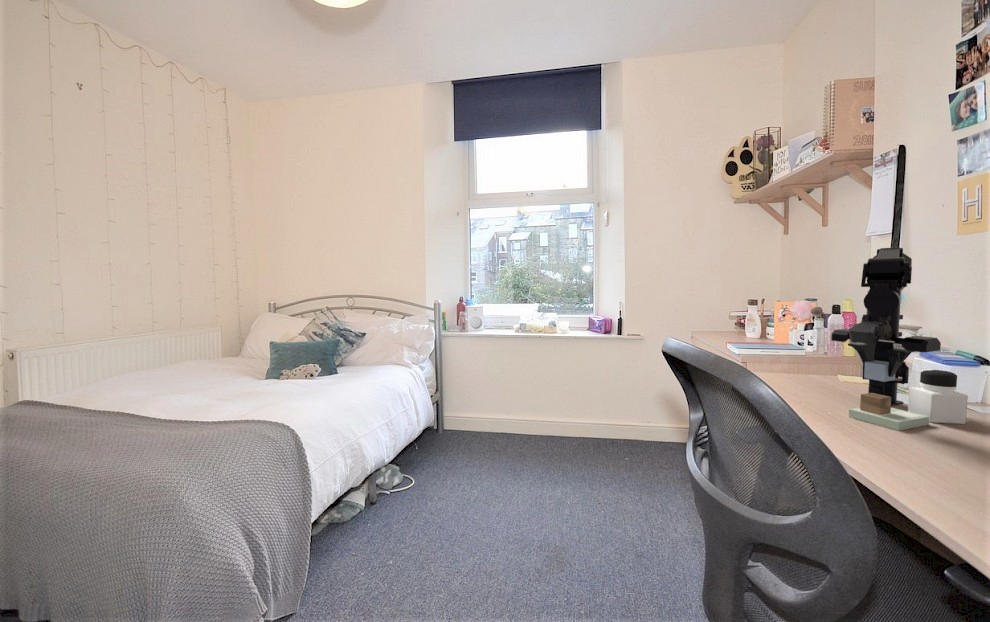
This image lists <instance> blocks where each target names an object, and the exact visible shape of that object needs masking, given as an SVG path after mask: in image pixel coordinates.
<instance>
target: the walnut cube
mask: <svg viewBox="0 0 990 622" xmlns="http://www.w3.org/2000/svg"><path fill="white" fill-rule="evenodd" d="M859 406H860V410H862V411H866V412H870V413H873V414H877V415H883V414H888V413H890V411H891V408H892V406H891V397H889V396H884V395H880V394H875V393H862V394H860V405H859Z"/></svg>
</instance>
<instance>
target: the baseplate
mask: <svg viewBox="0 0 990 622" xmlns="http://www.w3.org/2000/svg"><path fill="white" fill-rule="evenodd" d="M848 417H849V418H852V419H854V420H857V421H858V420H859V421H863V422H865V423H869V424H872V425H876V426H880V427H884V428H888V429H891V430H895V431H898V432H899V431H904V430H909V429H914V428H920V427H924V426H929V423H930V422H929V416H925V415H920V414H916V413H912V412H908V410H907V411H906V410H903V409H899V408H894V407H891V411H890V413H888V414H883V415H877V414H873V413H870V412H866V411H862V410H860V407H853V408H849V409H848Z"/></svg>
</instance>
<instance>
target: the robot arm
mask: <svg viewBox="0 0 990 622" xmlns="http://www.w3.org/2000/svg"><path fill="white" fill-rule="evenodd" d="M912 261H913V260H912V257H910V256H909V255H907V254H906V253H904V248H903V247H897V246H896V247H881V248H878V249H877V250H876V255H875V256H873V257H870V258H868V259H867V261H866V262H865V263H863V266H862V275H861V284H860V287H861V288H869V290H868V291H867V294H865V297H864V298H863V305H864V307H865V309H866V314H863V315H862V318H861V321H860V322H859V323H856V324H854V325H853V326H852V327H850V328H840V329H839V328H838V329H834V330H833V331H832V333H831V336H830V340H831V342H832V341H834V342H841V343H845V342H846V341H848V340H849V343H847V346H848V347H852V348H853V349H854V350H855V351H856V352H857V354H858V355H859V357H860V360H861V362H862V380H868V393H875V394H880V395H884V396H889V397H891V407H892V406H897V405H903V404H904V401H902V400H897V399H898V386H899V385H898V384H901V385H906V384H909V376H910V375H909V374H910V372H909V371H910V367H909V366H908V365H907V364H906V361H905V360H906V359H908V357H909V356H910V355H911V354H912V353H916V352H918V353H929V352H930V353H931V352H937V351H938V352H939V351H941V346H942V343H941V341H940V340H939V338H938V337H932V336H922V335H913V336H905V337H902V336H903V332H902V331H899V330H900V320H903V319H904V314H901V313H900V312H901V298H902V291H903V290H904V289H905V288H907V287H908V285H909V284H912V271H913V270H912V269H913V267H912V265H913V264H912ZM874 360H877V361H883V362H889V366H888V376H889V377H893V376H894V374H895V380H892V381H886V382H882V381H877V380H872V379H867V378H864V369H865V362H867V361H874Z"/></svg>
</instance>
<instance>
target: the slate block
mask: <svg viewBox="0 0 990 622" xmlns="http://www.w3.org/2000/svg"><path fill="white" fill-rule="evenodd" d="M888 366H889V362H883V361H877V360H874V361H867V362H865V369H864V378H867V379H866V380H868V379H872V380H877V381H882V382H886V381H892V380H895V374H894V376H893V377H889V376H888Z"/></svg>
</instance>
